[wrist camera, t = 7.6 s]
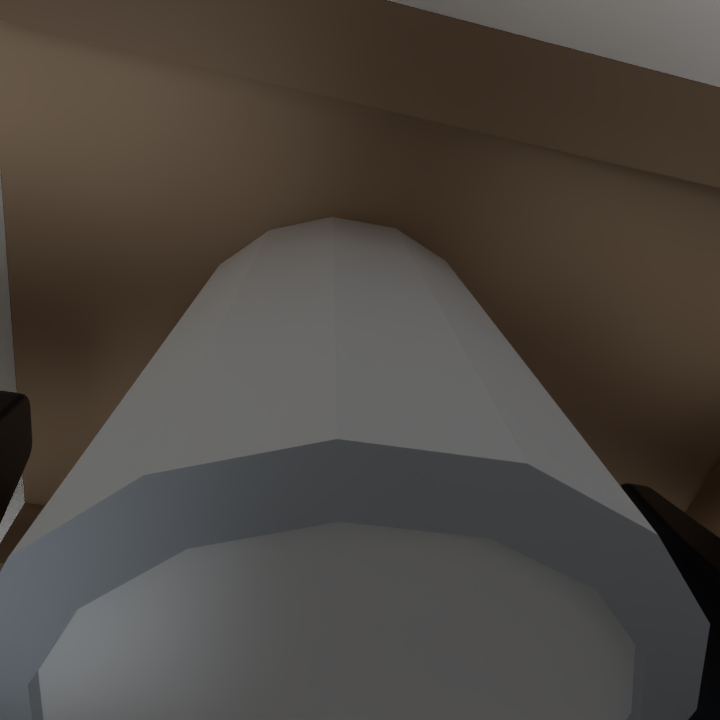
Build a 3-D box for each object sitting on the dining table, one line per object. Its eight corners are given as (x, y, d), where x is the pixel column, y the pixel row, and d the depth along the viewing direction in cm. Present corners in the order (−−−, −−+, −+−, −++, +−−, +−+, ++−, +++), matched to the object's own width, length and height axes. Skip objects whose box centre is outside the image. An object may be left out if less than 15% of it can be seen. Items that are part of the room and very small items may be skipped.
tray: (642, 576, 17) (693, 670, 15) (48, 503, 15) (-6, 601, 12) (927, 145, 11) (1090, 184, 9) (21, -91, 9) (-93, -126, 6)
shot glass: (582, 265, 11) (898, 589, 5) (419, 524, 14) (489, 917, 8) (209, 112, 9) (-9, 308, 3) (119, 443, 12) (-78, 856, 6)
